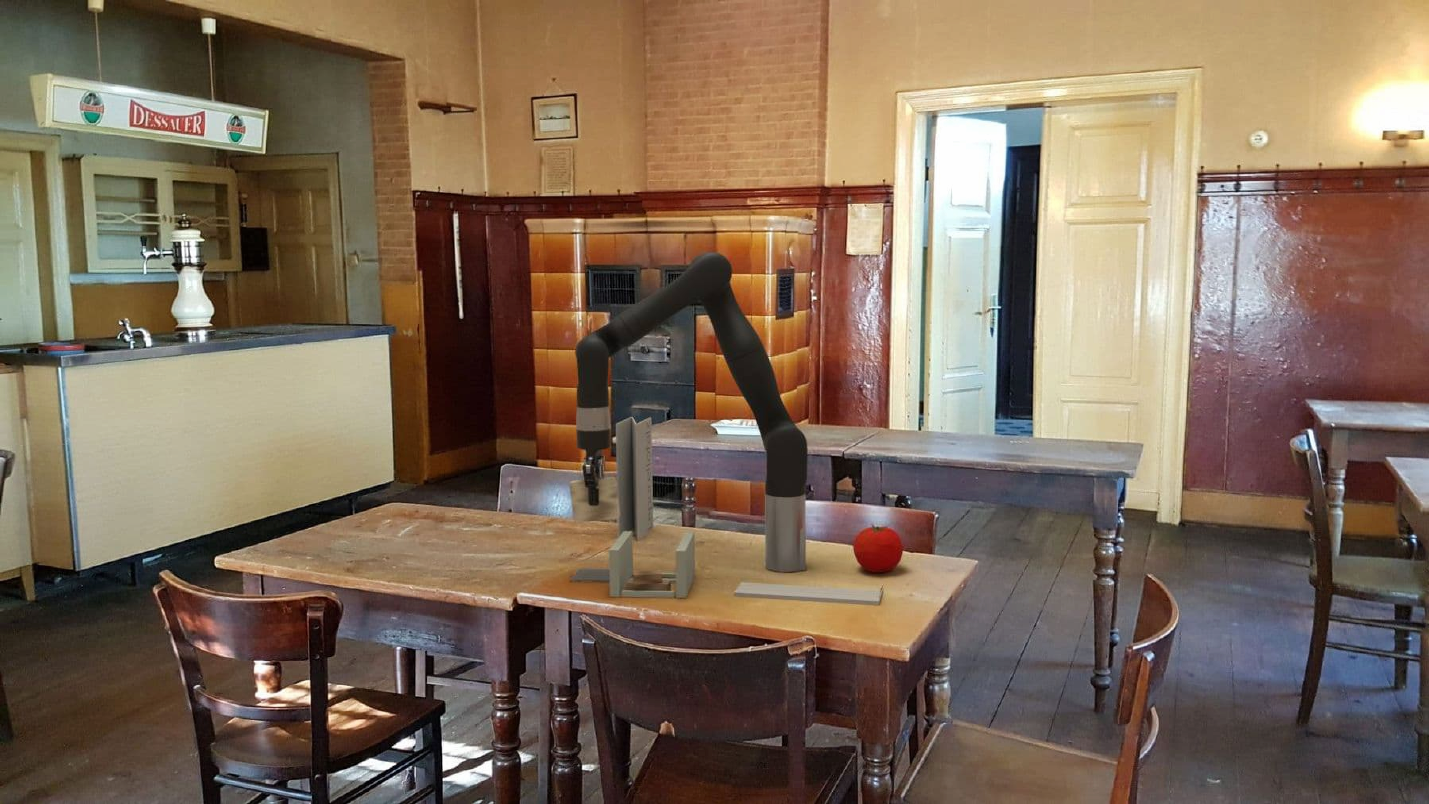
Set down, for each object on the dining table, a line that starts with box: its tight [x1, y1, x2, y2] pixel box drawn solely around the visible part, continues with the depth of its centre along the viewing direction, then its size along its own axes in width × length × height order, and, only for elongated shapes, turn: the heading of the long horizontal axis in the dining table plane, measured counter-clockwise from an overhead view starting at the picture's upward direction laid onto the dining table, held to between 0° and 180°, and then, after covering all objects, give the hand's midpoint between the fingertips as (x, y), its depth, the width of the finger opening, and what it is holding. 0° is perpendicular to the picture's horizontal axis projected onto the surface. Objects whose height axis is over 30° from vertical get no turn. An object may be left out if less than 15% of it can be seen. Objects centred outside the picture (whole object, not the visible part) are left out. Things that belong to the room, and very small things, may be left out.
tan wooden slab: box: [568, 476, 620, 524], centre depth 231 cm, size 10×2×9 cm, turn 84°
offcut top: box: [632, 569, 663, 585], centre depth 219 cm, size 6×3×2 cm, turn 98°
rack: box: [608, 530, 696, 599], centre depth 224 cm, size 16×16×10 cm
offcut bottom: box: [625, 579, 672, 591], centre depth 219 cm, size 9×3×3 cm, turn 83°
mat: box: [570, 568, 610, 583], centre depth 233 cm, size 10×9×1 cm
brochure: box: [615, 416, 654, 541], centre depth 271 cm, size 14×6×30 cm, turn 168°
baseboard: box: [733, 581, 884, 606], centre depth 218 cm, size 30×3×10 cm
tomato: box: [852, 523, 904, 573], centre depth 235 cm, size 11×13×10 cm
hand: (595, 503), depth 231 cm, fingers closed on tan wooden slab, 2 cm apart
